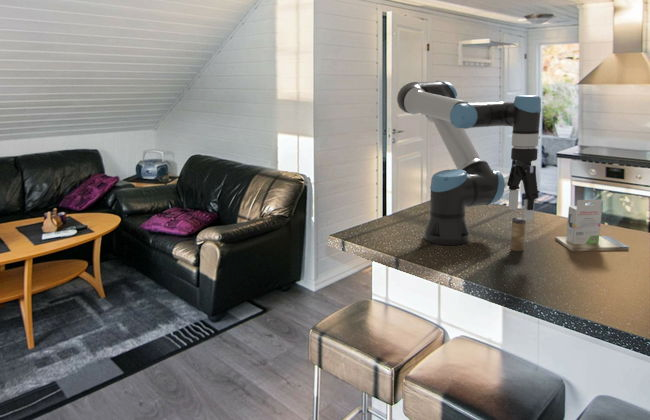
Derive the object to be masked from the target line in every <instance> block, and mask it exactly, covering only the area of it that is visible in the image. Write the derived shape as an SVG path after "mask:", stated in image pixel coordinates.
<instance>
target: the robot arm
mask: <svg viewBox="0 0 650 420" xmlns="http://www.w3.org/2000/svg"><path fill="white" fill-rule="evenodd" d="M457 96H458V91H457V90H456V88H455V87H454V85H453V84H452V83H450V82H448V81H442V80H435V81H412V82H409V83H407V84H405V85H403V86H402V87H401V88H400V89H399V91H398V93H397V95H396V101H397V102H396V103H397V105H398V108H399V109H400V110H401V111H402V112H404V113H406V114H407V113H408V114H411V115H418V114H420V115H424V116H425V117H426V119H427V121H429V122H430V123H434V124H433V125H435V128H436V130H437V131H438V133H439V135H440V137H441V139H442V142H443V143H444V145H445V148H446V149H447V151H448V153H449V155H450V157H451V159H452V161H453V163H454V165H455V168H453V169H445V170H440V171H437V172H435V173H434V174H433V175H432V177H431V180H430V181H431V182H430V185H429V186H430V187H429V188H430V205H429V219H428V221H427V223H426V227H425V230H424V234H423V238H424V240H425V241H427V242H429V243H431V244H435V245H442V246H458V245H463V244H466V243H468V242H469V241H470V230H469V227H468V223H467V221H466V208H469V207H478V206H479V207H480V206H484V205H485V206H489V205H490V204H495V203H498V201H501V199H502V198H503V196H504V194H505V187H506V185H507V187H508V189H509V192H508V193H509V194H508V210H509V211H513V210H514V211H515V210H516V211H517V210H518V207H519V195H520V194H519V191H520V184H521V182H522V184H523V185H522V186H523V190H524V195H525V196H524V197H523V200H524V205H523V216H522V218H523V220H526V221H534V214H535V213H534V211H535V200H536V199H539V191H538V190H539V189H538V182H537V166H536V165H532V162H534V161H537V159H538V153H539V149H538V148H537V147H538V146H539V140H540V138H541V136H540V123H541V122H540V120H541V112H542V102H541V101H542V99H541V96H539V95H534V94H533V95H517V96H515V97H514V101H502V100H499V101H490V102H469V101H466V100H461V99H459V98H458V97H457ZM501 126H502V127H503V126H504V127H512V132H511V133H512V134H511V146H512V147H511V153H510V159H511V160H512V162H511V168H510V171H509V176H508V179H507V182H505V181H506V180H505V178H504V175H503V174H502V172H501V171H500V170H497V169H491V166H490V165H489V163H488V162H487V161H486V160H482V159H481V158H480V156H479V154H478V152H477V150H476V149H475V146H474V145H473V142H472V141H471V139H470V137H469V135H468V134H467V131H466V129H472V128H489V127H501ZM506 183H507V184H506Z"/></svg>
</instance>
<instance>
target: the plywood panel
mask: <svg viewBox="0 0 650 420" xmlns="http://www.w3.org/2000/svg"><path fill="white" fill-rule="evenodd" d="M554 240H555V241H556V242H558V243H559V244H560V245H562V246H563V247H565V248H566V249H567V250H569V251H570V252H584V251H585V252H587V251H591V252H592V251H593V252H594V251H597V252H598V251H629V248H630V246H629V245H627V244H624V243H623V242H621V241H620V240H617V239H616V238H614V237H613V236H610V235H599V243H598V244H572V243H570V242H568V241H566V236H555V238H554Z"/></svg>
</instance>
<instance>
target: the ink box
mask: <svg viewBox="0 0 650 420" xmlns="http://www.w3.org/2000/svg"><path fill="white" fill-rule="evenodd" d="M589 203H591V204H590V205H588V204H589ZM586 204H587V205H586ZM602 207H603V199H602V198H600V199H599V198H598V199H577V201H576V205H569V206H568V214H567V224H566V225H567V226H566V235H565V237H566V241H568V242H570V243H572V244H598V243H599V236H600V232H601V222H602V212H603V209H602Z"/></svg>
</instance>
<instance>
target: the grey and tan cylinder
mask: <svg viewBox="0 0 650 420" xmlns="http://www.w3.org/2000/svg"><path fill="white" fill-rule="evenodd" d="M511 221H512V222H511V234H510V247H509V248H510V250H511V251H514V252H522V251H524V249H525V236H526V235H525V234H526V222H527V220H523V217H512V220H511Z"/></svg>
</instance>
